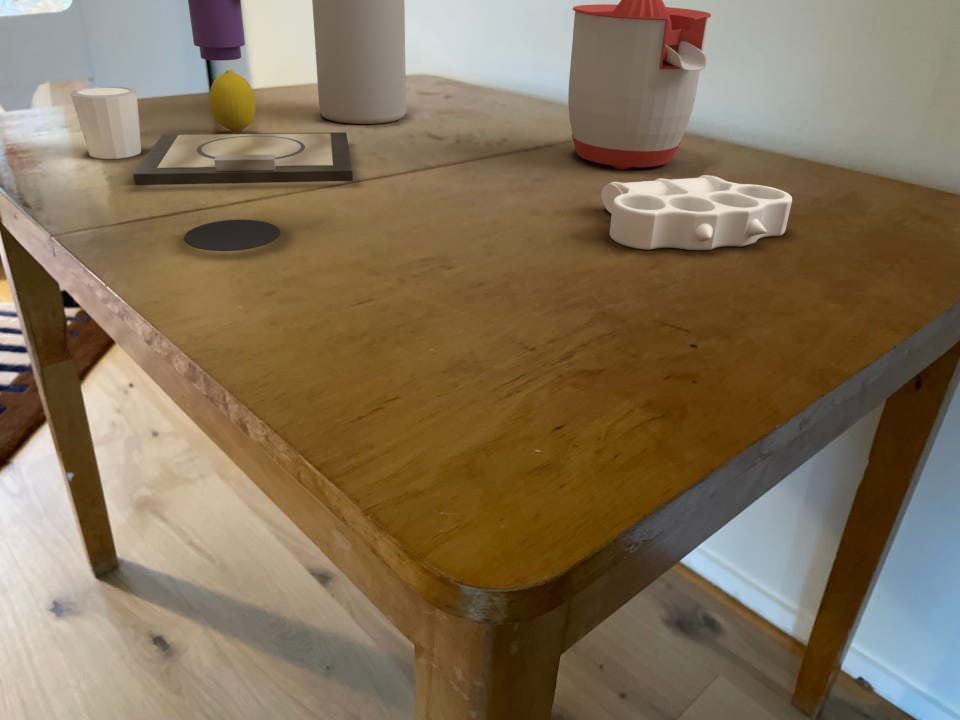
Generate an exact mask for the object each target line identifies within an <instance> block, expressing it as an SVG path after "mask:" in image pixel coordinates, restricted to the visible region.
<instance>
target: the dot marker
mask: <svg viewBox="0 0 960 720" xmlns="http://www.w3.org/2000/svg"><path fill="white" fill-rule="evenodd" d="M187 4H188V11H189V19H190V25H191V33H192V41H193V46H196V47H198V48H199V54H200V55H199V56H200V58H201V59H202V60H207V61H234V60H235V61H236V60H240V59H242V47H244V46H245V45H246V41H245V29H244V22H243V11H242V2H241V0H187Z"/></svg>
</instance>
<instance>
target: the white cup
mask: <svg viewBox="0 0 960 720" xmlns="http://www.w3.org/2000/svg"><path fill="white" fill-rule="evenodd" d="M70 96H71V100H72V103H73V106H74V110H75V113H76V116H77V120H78V123H79V126H80V129H81V132H82V136H83V139H84V142H85V146H86V149H87V152H88V155H89V156H90V157H91V158H95V159H100V160H101V159H103V160H118V159H126V158H132V157H135V156H138V155H139V154H141V153H142V142H141V132H140V131H141V129H140V117H139V105H138V104H139V103H138V92H137V90H136V89H134V88H131V87H130V88H129V87H123V86H94V87H85V88H79V89H75V90H73V91H71V92H70Z"/></svg>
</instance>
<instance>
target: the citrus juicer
mask: <svg viewBox="0 0 960 720" xmlns="http://www.w3.org/2000/svg"><path fill="white" fill-rule="evenodd" d="M572 11H574V16H573V17H574V19H573V31H572V41H571V42H572V43H571V55H570V66H569V67H570V68H569V77H568V100H567V104H568V114H569V124H570V129H571V137H572V141H573V145H574V148H575V151H576V154H577V155H578V156H579V157H580V158H582V159H584V160H586V161H589V162H592V163H596V164H601V165H606V166H611V167H612V168H613V169H616V170H629V169H631V168H651V167H659V166H663V165H666V164H668V163H670V162H671V161H672V159H673V157H674V156H675V155H676V153H677V151H678V149H679V147H680V144H681V141H682V138H683V136H684V134H685V131H686V130H687V128H688V124H689V121H690V118H691V115H692V112H693V109H694V104H695V100H696V95H697V90H698V84H699V79H700V71H703V70H704V69H705V68H706V67H707V57H706V54H705V53H704V46H705V40H706V34H707V28H708V21H709V19H710V18H711V17H712V14H711V13H710V12H706V11H703V10H697V9H690V8H680V7H669V6H666V4H665V3H664V1H663V0H620V1H619V2H618V4H610V3H609V4H606V3H605V4H604V3H603V4H602V3H601V4H581V5H575V6H573V7H572Z"/></svg>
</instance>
